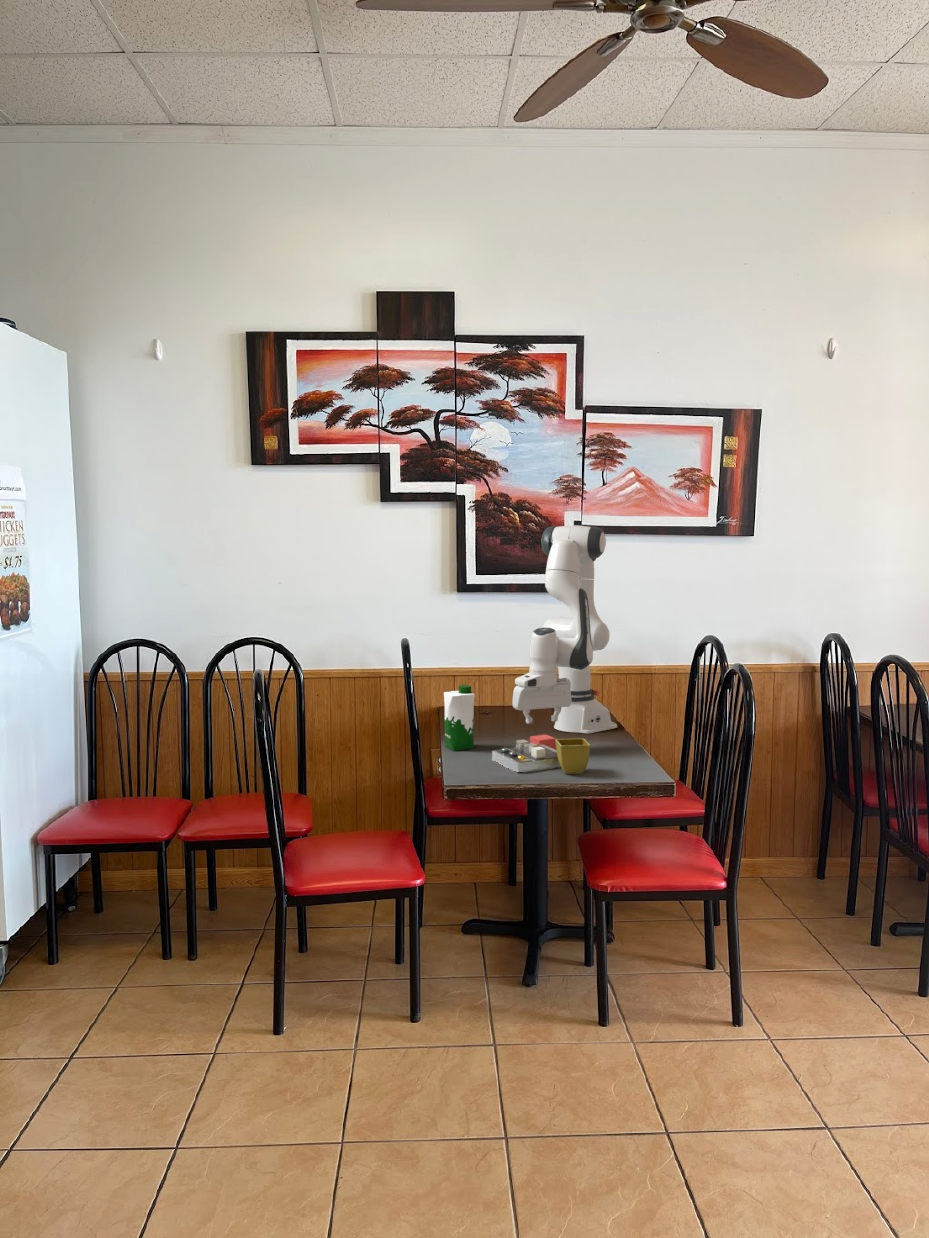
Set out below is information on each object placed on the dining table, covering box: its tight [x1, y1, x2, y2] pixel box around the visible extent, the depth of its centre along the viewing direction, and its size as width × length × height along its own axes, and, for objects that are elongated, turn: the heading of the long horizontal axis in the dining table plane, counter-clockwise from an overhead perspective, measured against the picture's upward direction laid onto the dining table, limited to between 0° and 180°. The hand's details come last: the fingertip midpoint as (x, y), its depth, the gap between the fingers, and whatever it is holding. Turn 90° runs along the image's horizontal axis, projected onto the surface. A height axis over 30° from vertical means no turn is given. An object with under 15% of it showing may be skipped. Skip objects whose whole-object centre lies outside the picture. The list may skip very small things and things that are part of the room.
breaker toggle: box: [531, 747, 545, 758], centre depth 271 cm, size 3×3×2 cm
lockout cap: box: [529, 734, 557, 750], centre depth 293 cm, size 6×6×4 cm
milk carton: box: [443, 684, 476, 752], centre depth 294 cm, size 9×9×20 cm
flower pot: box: [555, 738, 591, 775], centre depth 266 cm, size 9×9×9 cm
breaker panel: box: [491, 739, 561, 773], centre depth 276 cm, size 18×16×6 cm
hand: (541, 722), depth 291 cm, fingers open, 8 cm apart
